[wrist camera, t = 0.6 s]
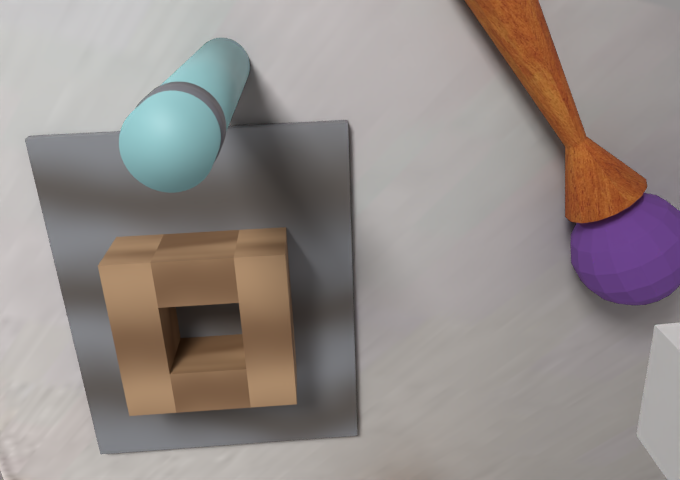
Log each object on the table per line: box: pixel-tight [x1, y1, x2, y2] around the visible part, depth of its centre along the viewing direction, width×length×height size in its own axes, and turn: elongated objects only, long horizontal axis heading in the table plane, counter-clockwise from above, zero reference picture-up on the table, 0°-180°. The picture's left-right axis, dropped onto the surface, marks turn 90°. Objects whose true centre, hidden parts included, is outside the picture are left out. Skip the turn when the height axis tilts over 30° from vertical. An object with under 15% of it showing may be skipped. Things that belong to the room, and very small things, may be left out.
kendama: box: [465, 0, 680, 305], centre depth 32 cm, size 6×6×20 cm
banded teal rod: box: [119, 38, 250, 193], centre depth 24 cm, size 3×3×15 cm
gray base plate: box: [25, 120, 357, 454], centre depth 34 cm, size 20×16×4 cm
